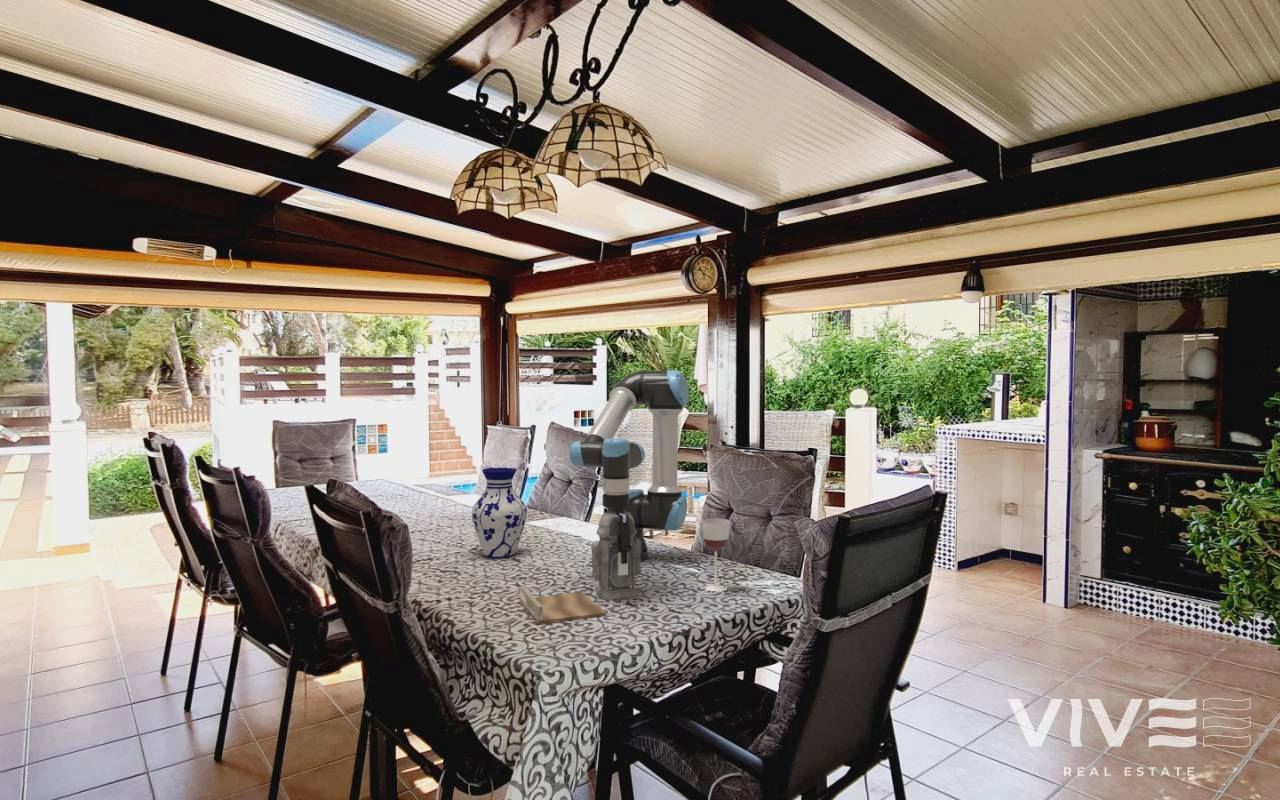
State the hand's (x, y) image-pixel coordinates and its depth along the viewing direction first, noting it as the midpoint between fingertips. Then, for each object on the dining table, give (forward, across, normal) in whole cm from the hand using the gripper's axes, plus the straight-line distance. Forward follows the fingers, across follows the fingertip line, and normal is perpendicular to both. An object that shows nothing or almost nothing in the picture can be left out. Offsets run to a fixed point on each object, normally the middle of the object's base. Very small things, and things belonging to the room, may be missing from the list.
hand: (615, 569), depth 206 cm
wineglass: (+7, +6, +29) cm, 30 cm away
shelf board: (+7, +7, -18) cm, 21 cm away
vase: (+7, -60, -21) cm, 64 cm away
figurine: (+7, 0, 0) cm, 7 cm away
